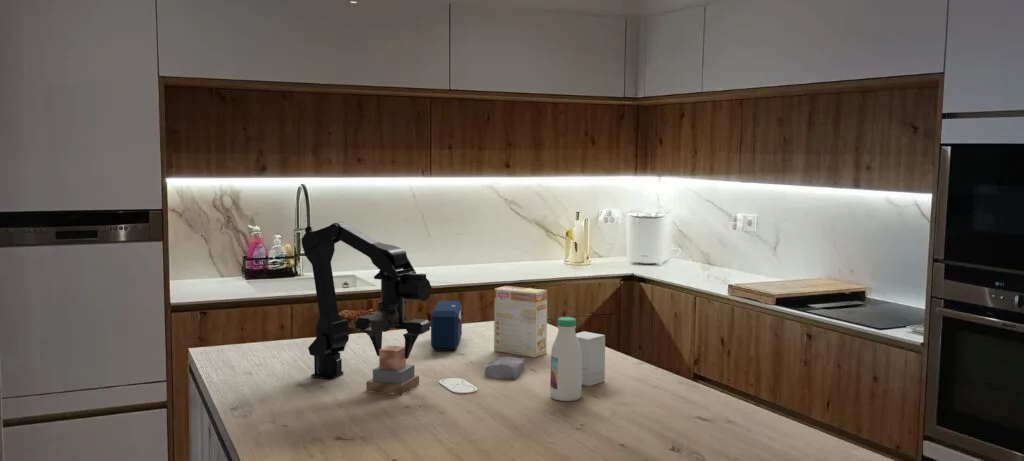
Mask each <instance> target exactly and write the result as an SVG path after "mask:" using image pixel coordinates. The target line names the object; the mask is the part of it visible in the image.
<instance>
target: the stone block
mask: <svg viewBox="0 0 1024 461" xmlns="http://www.w3.org/2000/svg"><path fill="white" fill-rule="evenodd" d="M524 369H525V358H524V357H523V358H520V357H513V356H502V357H498V358H493V359H491V360H490V361H489V362H488V363H487V364H486V366H485V367H484V371H485V375H486V377H487V378H492V377H493V379H511V380H512V379H515V380H516V379H518V378H519V376H520V374H522V372H523V371H524Z"/></svg>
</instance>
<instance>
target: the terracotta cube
mask: <svg viewBox="0 0 1024 461" xmlns="http://www.w3.org/2000/svg"><path fill="white" fill-rule="evenodd" d="M378 357H379V361H378V363H379V365H378V367H379V369H388V370H399V369H401V368H403V367H405V366H406V364H407V361H406V360H407V359H405V346H401V345H399V346H398V345H391V344H390V345H389V344H388V345H386V346H384V347H382V348H381V349H379V356H378Z"/></svg>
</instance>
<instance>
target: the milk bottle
mask: <svg viewBox="0 0 1024 461" xmlns="http://www.w3.org/2000/svg"><path fill="white" fill-rule="evenodd" d="M556 324H557V328H558V330H557V334H556V336H555V339H554V341H553V344H552V347H551V351H550V353H551V354H550V379H549V380H550V381H549V382H550V386H549V388H550V390H549V391H550V394H549V395H550V398H551V399H553V400H556V401H562V402H574V401H577V400H580V399H581V397H582V384H581V383H582V353H581V347H580V344H579V341H578V339H577V336H576V327H577V319H576V318H575V317H572V316H571V317H570V316H561V317H559V318H557V322H556Z"/></svg>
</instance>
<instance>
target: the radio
mask: <svg viewBox="0 0 1024 461" xmlns="http://www.w3.org/2000/svg"><path fill="white" fill-rule="evenodd" d="M463 316H464V310H463V305H462V304H461V302H460V301H459V300H456V301H455V300H438V302H437V304H436V305H435V306H434V309H433V310H432V312H431V313H430V346H431V348H432V349H433V351H456V349H457V348H458V347H459V344H460V340H461V339H462V334H463V328H462V327H463V324H462V323H463V321H462V320H463Z"/></svg>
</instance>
